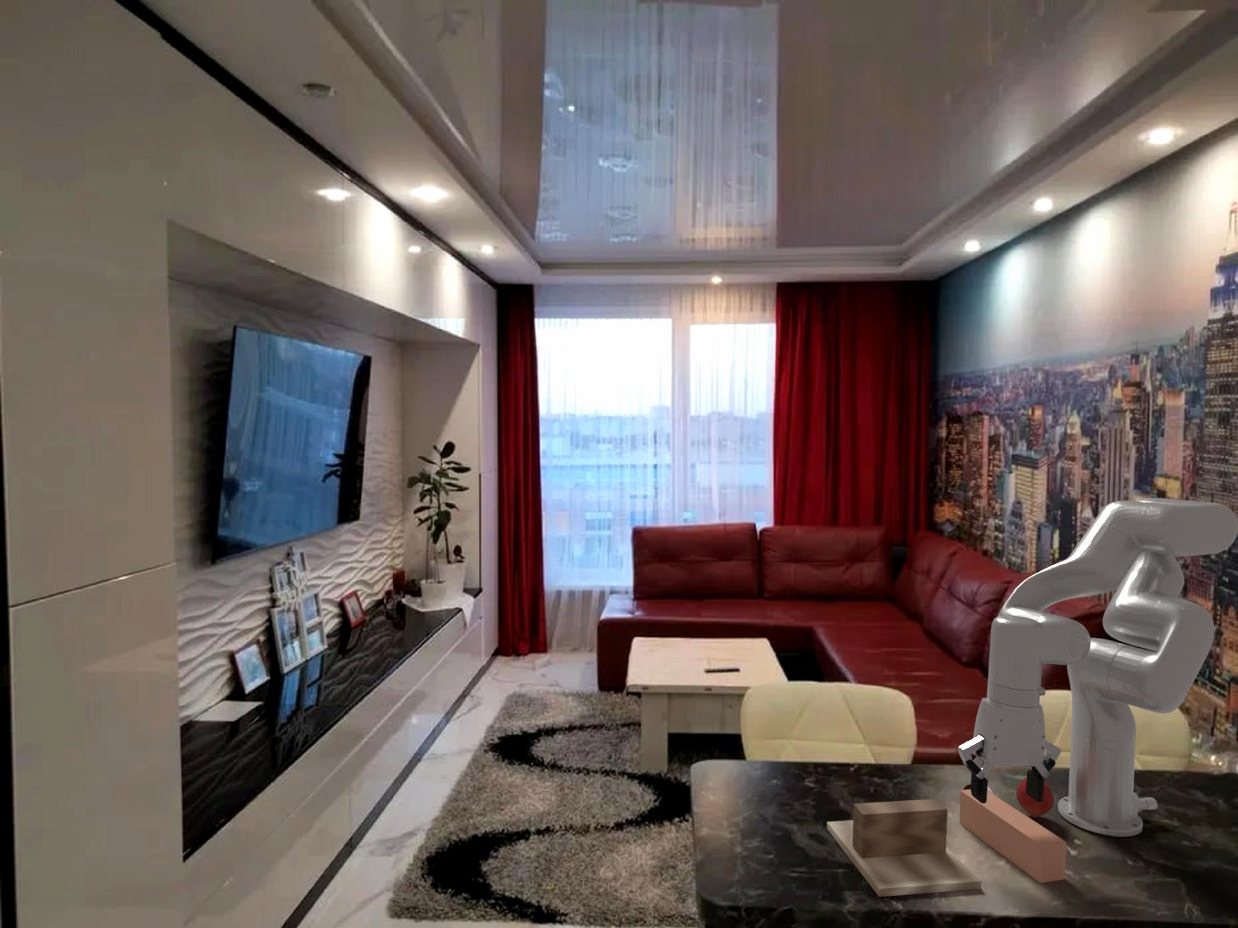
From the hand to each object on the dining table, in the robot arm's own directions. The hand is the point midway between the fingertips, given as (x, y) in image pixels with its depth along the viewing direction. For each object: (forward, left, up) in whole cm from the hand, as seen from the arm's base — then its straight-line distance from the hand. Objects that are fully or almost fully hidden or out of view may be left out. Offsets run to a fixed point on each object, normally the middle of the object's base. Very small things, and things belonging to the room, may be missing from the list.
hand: (1006, 798), depth 125 cm
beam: (-1, 0, -9) cm, 9 cm away
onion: (-12, -9, -9) cm, 18 cm away
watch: (-5, -14, -9) cm, 18 cm away
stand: (+18, 0, -9) cm, 20 cm away
